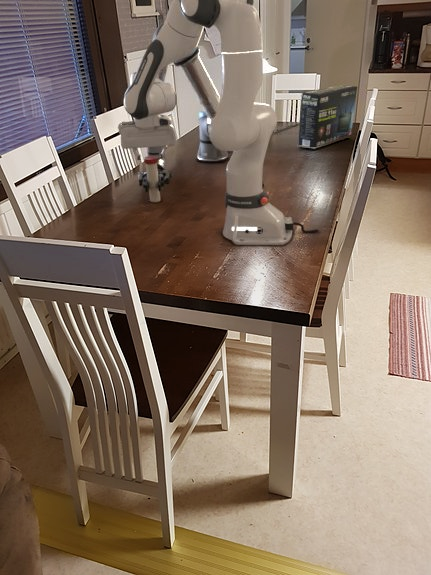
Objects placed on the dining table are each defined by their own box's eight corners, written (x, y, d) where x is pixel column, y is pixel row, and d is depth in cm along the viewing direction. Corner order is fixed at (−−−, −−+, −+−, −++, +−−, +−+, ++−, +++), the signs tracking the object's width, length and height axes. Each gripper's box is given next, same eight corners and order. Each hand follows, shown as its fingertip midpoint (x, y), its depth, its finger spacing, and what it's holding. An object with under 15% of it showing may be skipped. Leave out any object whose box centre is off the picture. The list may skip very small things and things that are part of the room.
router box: (314, 151, 231) (318, 94, 217) (296, 148, 237) (299, 92, 224) (352, 138, 251) (358, 85, 238) (335, 135, 258) (340, 83, 245)
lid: (153, 164, 168) (152, 160, 167) (141, 163, 170) (141, 158, 169) (160, 161, 172) (160, 156, 171) (149, 159, 174) (149, 155, 173)
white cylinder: (156, 202, 177) (152, 160, 168) (147, 201, 178) (143, 159, 170) (162, 199, 180) (158, 157, 171) (153, 197, 181) (149, 156, 173)
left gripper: (177, 177, 193) (176, 196, 173) (136, 179, 193) (130, 199, 173) (175, 159, 189) (175, 177, 169) (134, 162, 189) (128, 179, 169)
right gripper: (116, 123, 160) (122, 163, 167) (175, 120, 162) (178, 159, 169) (117, 120, 165) (122, 158, 172) (174, 116, 167) (176, 154, 175)
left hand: (152, 188), depth 171 cm, fingers closed on white cylinder, 4 cm apart
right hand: (150, 158), depth 171 cm, fingers open, 7 cm apart
